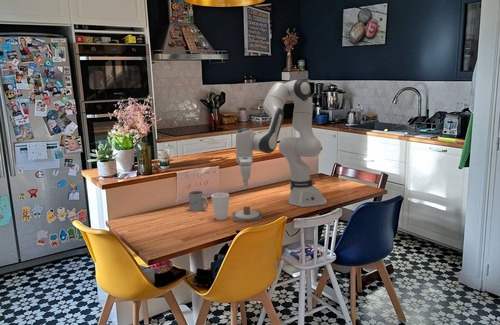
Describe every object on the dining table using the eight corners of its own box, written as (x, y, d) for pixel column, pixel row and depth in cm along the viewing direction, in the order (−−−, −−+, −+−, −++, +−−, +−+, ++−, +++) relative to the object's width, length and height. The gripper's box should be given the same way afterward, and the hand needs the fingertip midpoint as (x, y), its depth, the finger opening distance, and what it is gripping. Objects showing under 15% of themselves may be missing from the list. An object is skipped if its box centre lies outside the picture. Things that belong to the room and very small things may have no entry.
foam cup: (227, 221, 226) (226, 197, 224) (210, 220, 228) (209, 197, 226) (231, 215, 236) (230, 192, 233) (215, 215, 237) (214, 192, 235)
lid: (257, 211, 240) (257, 203, 239) (260, 218, 227) (260, 210, 226) (234, 212, 239) (234, 204, 238) (235, 220, 226) (235, 211, 225)
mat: (259, 211, 241) (259, 210, 241) (262, 220, 226) (262, 218, 226) (232, 213, 240) (232, 212, 240) (234, 221, 225) (234, 220, 225)
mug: (186, 209, 249) (185, 193, 247) (198, 206, 255) (197, 190, 253) (200, 213, 241) (199, 196, 239) (211, 210, 247) (210, 193, 245)
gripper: (237, 155, 237) (238, 180, 240) (239, 162, 217) (240, 188, 220) (248, 155, 238) (249, 179, 240) (252, 161, 218) (252, 188, 220)
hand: (245, 184), depth 230 cm, fingers open, 8 cm apart
